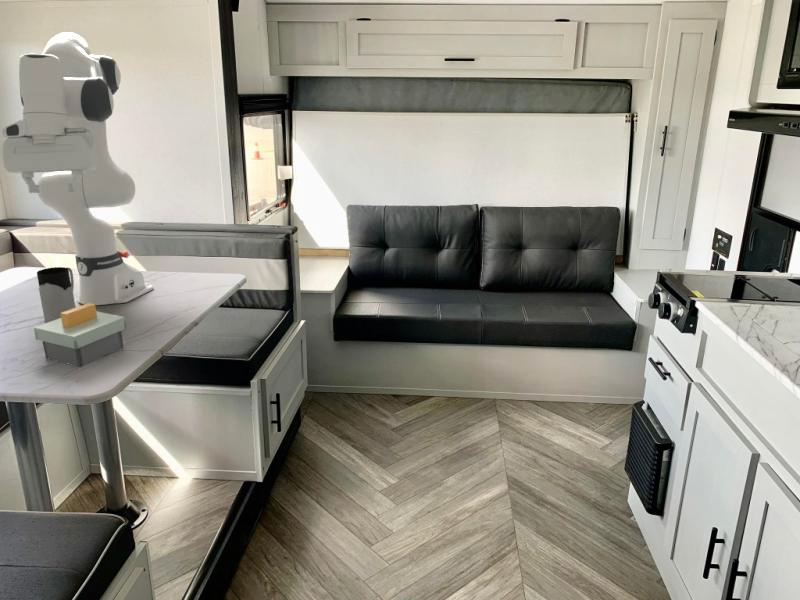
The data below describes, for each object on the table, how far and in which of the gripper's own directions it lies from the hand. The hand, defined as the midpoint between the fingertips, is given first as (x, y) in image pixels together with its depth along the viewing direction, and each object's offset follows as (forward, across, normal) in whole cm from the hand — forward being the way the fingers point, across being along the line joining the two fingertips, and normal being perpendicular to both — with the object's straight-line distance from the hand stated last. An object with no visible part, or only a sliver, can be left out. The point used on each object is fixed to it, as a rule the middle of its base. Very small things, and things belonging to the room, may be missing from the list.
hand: (54, 192), depth 140 cm
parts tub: (+38, +1, -7) cm, 39 cm away
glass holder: (+34, +19, -28) cm, 48 cm away
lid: (+34, +1, -6) cm, 34 cm away
